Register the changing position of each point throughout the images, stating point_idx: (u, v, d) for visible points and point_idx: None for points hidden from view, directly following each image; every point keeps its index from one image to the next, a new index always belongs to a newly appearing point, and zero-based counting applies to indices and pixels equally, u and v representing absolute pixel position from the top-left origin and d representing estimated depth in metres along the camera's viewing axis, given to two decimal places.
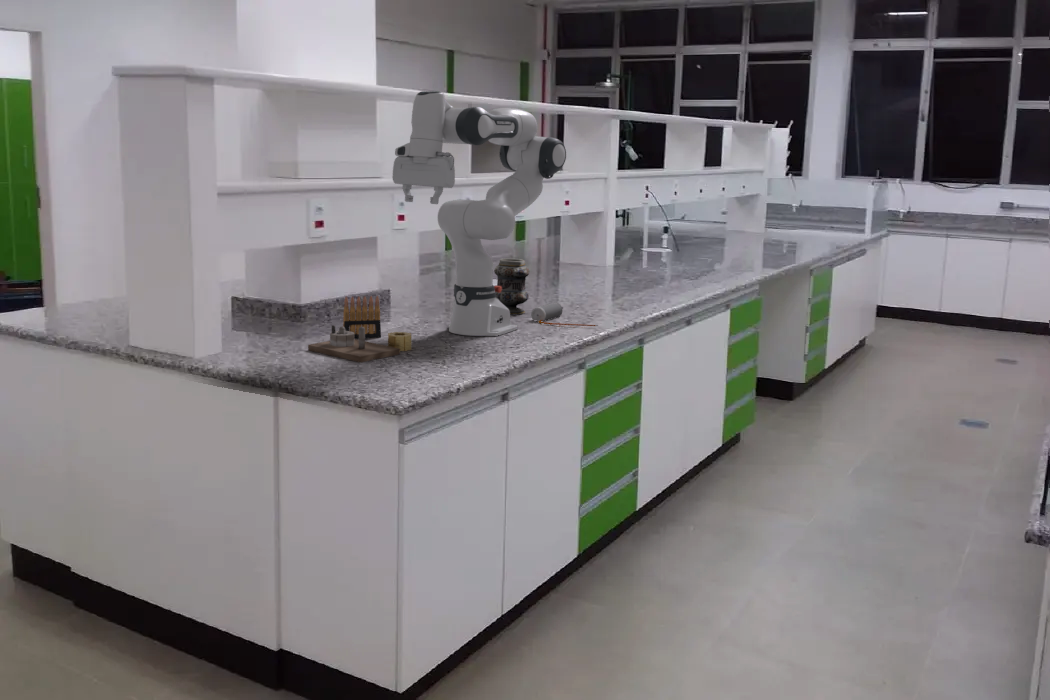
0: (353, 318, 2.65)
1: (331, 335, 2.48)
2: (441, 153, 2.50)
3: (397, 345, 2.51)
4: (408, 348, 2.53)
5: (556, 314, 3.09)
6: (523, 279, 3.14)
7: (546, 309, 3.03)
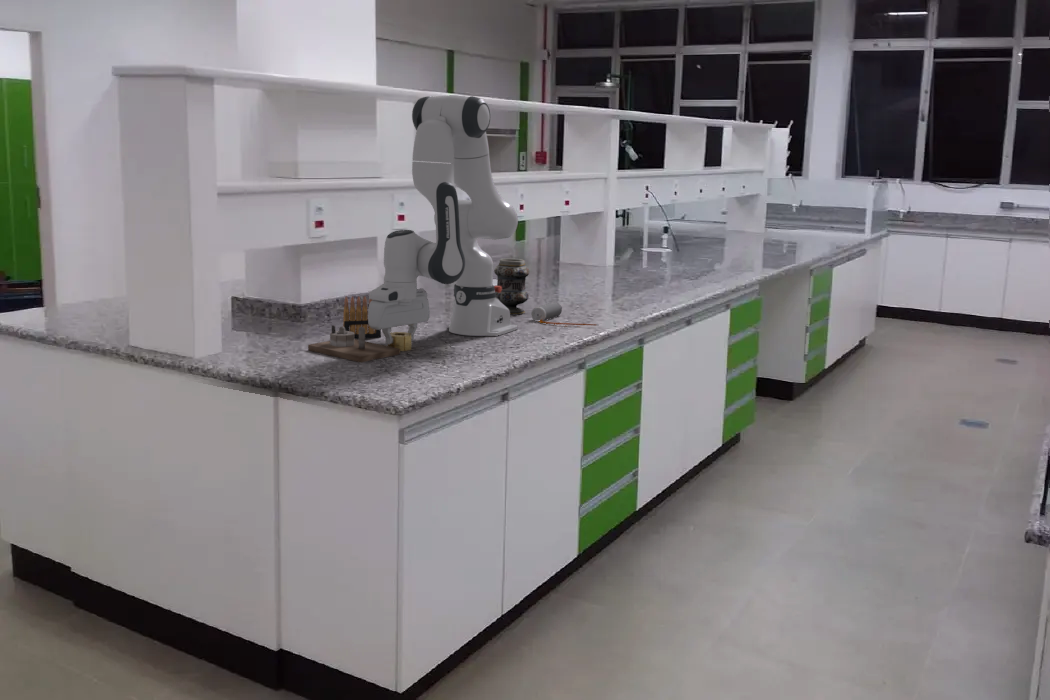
0: (353, 318, 2.65)
1: (331, 335, 2.48)
2: (417, 290, 2.56)
3: (397, 345, 2.51)
4: (408, 348, 2.53)
5: (556, 314, 3.10)
6: (523, 279, 3.14)
7: (546, 309, 3.04)
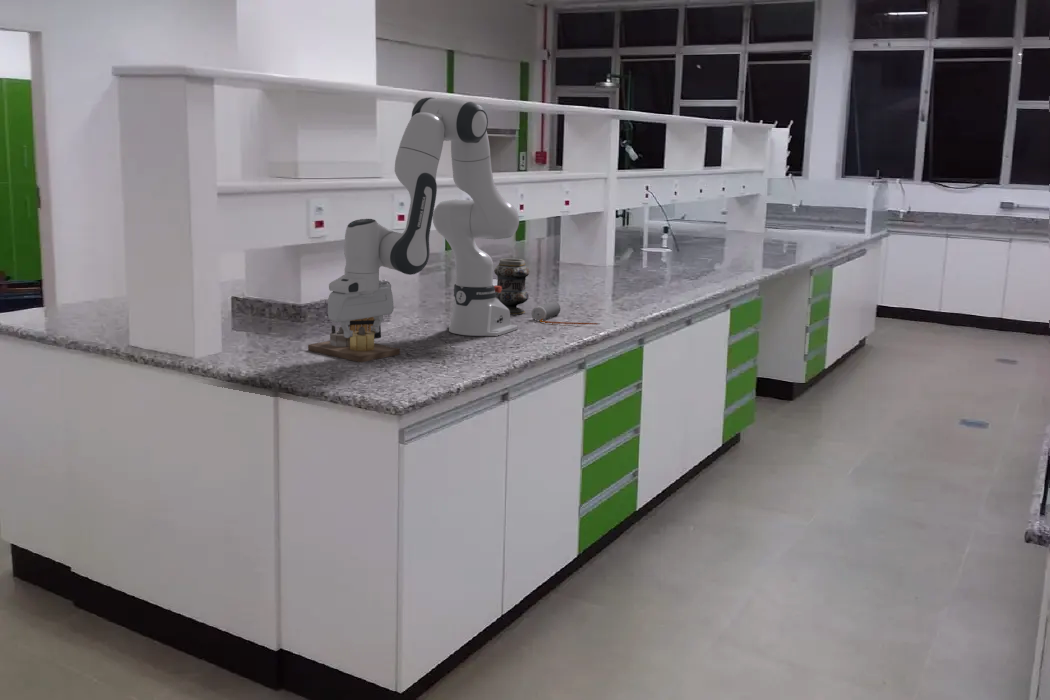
0: None
1: (331, 335, 2.48)
2: (380, 281, 2.47)
3: (359, 345, 2.43)
4: (371, 348, 2.45)
5: (555, 313, 3.12)
6: (523, 279, 3.14)
7: (546, 308, 3.05)
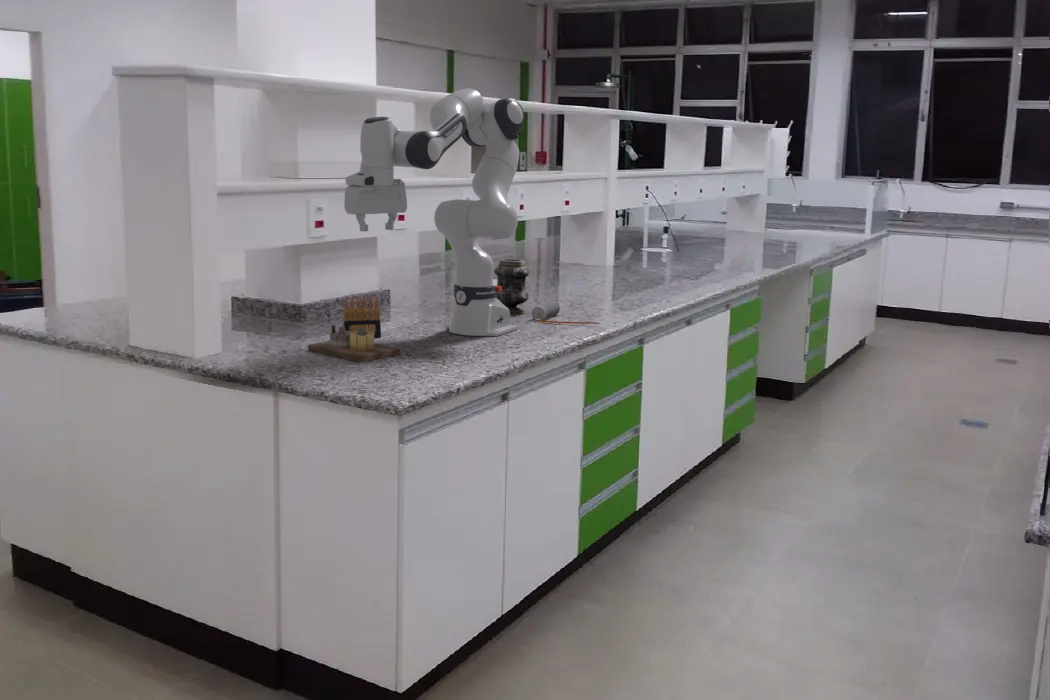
0: (353, 318, 2.65)
1: (331, 335, 2.48)
2: (395, 180, 2.57)
3: (359, 345, 2.43)
4: (371, 348, 2.45)
5: (554, 312, 3.12)
6: (523, 279, 3.14)
7: (546, 308, 3.06)
